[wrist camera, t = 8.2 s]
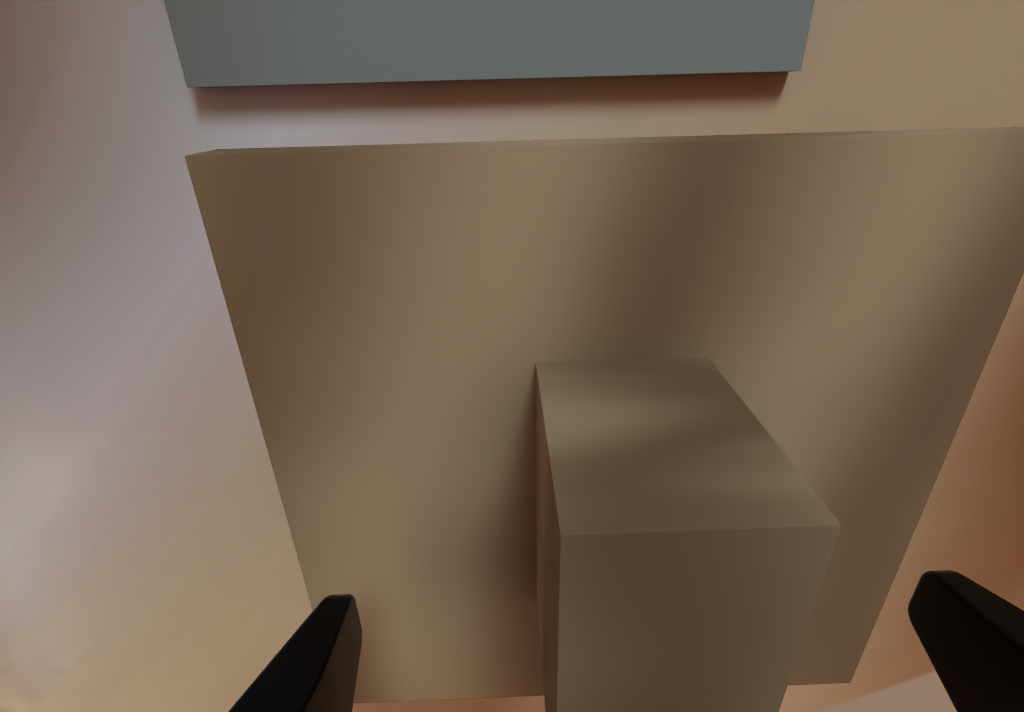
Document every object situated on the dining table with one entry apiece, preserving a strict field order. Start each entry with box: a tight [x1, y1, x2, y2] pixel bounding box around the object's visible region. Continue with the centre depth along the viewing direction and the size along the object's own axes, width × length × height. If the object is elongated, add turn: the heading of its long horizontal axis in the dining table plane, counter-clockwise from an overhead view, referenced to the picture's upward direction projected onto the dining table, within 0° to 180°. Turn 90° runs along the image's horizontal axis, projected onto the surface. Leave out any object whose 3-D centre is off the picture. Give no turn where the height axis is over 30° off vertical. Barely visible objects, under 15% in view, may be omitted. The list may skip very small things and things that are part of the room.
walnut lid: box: [185, 127, 1024, 712], centre depth 9 cm, size 13×13×5 cm
